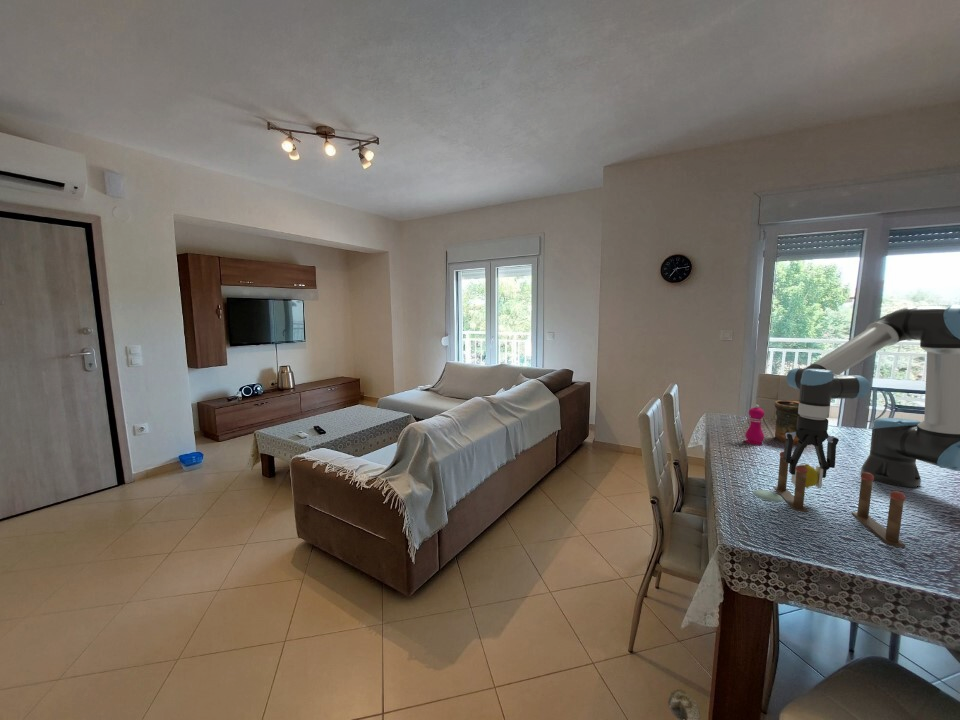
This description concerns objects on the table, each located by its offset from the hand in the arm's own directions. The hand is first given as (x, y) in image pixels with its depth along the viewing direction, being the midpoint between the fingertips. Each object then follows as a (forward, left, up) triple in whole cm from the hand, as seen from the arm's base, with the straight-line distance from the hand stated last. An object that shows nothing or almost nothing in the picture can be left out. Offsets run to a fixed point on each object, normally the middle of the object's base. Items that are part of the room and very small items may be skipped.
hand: (805, 484), depth 123 cm
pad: (+10, 0, -6) cm, 12 cm away
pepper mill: (-3, -60, -6) cm, 60 cm away
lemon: (0, 0, -1) cm, 1 cm away
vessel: (-20, -69, -6) cm, 72 cm away
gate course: (-4, +6, -6) cm, 10 cm away
